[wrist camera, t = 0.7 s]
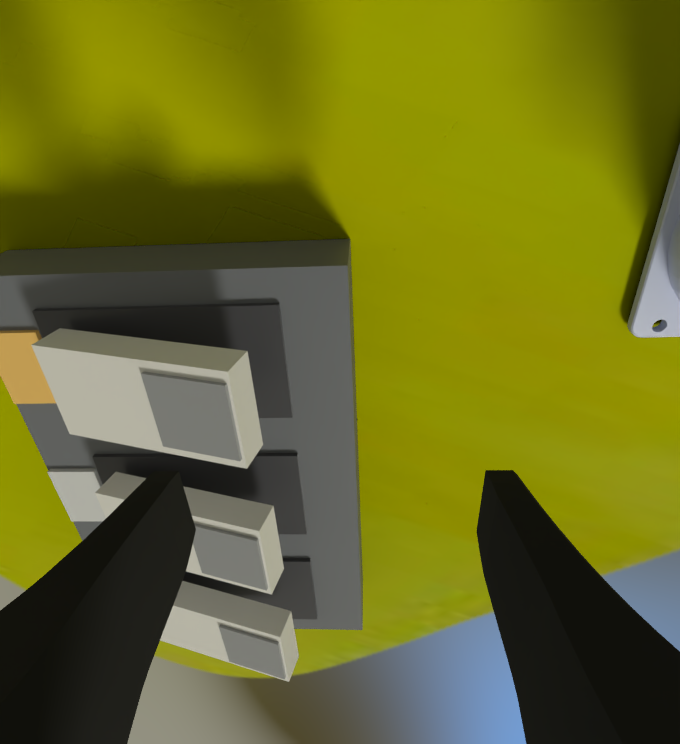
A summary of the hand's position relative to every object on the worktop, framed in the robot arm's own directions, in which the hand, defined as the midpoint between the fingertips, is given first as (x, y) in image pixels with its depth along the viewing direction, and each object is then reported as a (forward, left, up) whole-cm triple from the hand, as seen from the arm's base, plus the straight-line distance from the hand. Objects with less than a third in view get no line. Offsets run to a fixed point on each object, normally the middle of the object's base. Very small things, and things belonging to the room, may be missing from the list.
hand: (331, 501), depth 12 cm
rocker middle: (+6, +7, -5) cm, 10 cm away
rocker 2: (+6, +13, -5) cm, 15 cm away
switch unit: (+6, +7, -9) cm, 13 cm away
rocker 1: (+6, 0, -5) cm, 8 cm away
